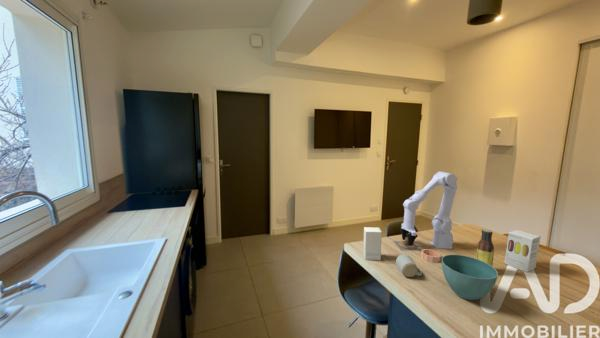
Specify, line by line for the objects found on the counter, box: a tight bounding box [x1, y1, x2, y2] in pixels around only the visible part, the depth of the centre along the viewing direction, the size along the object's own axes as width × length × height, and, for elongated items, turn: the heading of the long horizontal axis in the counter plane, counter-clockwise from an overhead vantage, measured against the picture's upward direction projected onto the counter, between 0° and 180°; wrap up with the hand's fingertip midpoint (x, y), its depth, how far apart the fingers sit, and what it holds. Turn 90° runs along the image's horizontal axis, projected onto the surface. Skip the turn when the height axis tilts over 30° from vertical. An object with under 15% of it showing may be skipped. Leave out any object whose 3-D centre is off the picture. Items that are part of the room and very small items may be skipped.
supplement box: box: [503, 229, 541, 273], centre depth 116 cm, size 10×9×17 cm
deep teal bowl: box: [441, 254, 499, 301], centre depth 94 cm, size 18×18×12 cm
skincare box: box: [362, 226, 383, 261], centre depth 122 cm, size 8×7×16 cm
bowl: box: [420, 248, 442, 264], centre depth 123 cm, size 9×9×3 cm
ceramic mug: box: [395, 253, 423, 278], centre depth 108 cm, size 11×8×8 cm
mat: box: [392, 240, 423, 252], centre depth 137 cm, size 12×12×1 cm
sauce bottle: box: [475, 228, 495, 267], centre depth 111 cm, size 7×6×20 cm
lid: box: [398, 237, 417, 250], centre depth 136 cm, size 10×10×5 cm
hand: (407, 242), depth 136 cm, fingers open, 7 cm apart
